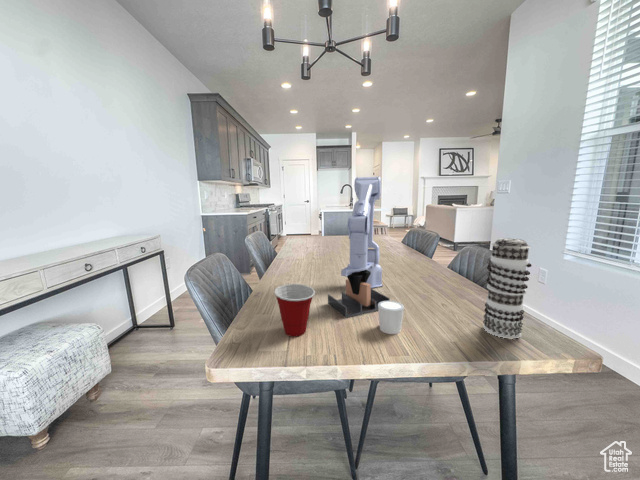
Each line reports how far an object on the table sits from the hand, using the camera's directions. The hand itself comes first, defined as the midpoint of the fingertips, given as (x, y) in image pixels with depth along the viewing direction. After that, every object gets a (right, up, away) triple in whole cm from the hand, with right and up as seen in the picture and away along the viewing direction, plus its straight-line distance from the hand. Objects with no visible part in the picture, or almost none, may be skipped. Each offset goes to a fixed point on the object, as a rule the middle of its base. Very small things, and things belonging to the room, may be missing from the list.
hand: (358, 292), depth 86 cm
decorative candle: (+36, -7, -17) cm, 40 cm away
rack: (0, -5, +1) cm, 5 cm away
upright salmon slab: (0, -3, +1) cm, 3 cm away
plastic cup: (-19, -8, -16) cm, 26 cm away
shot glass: (+7, -7, -15) cm, 18 cm away
